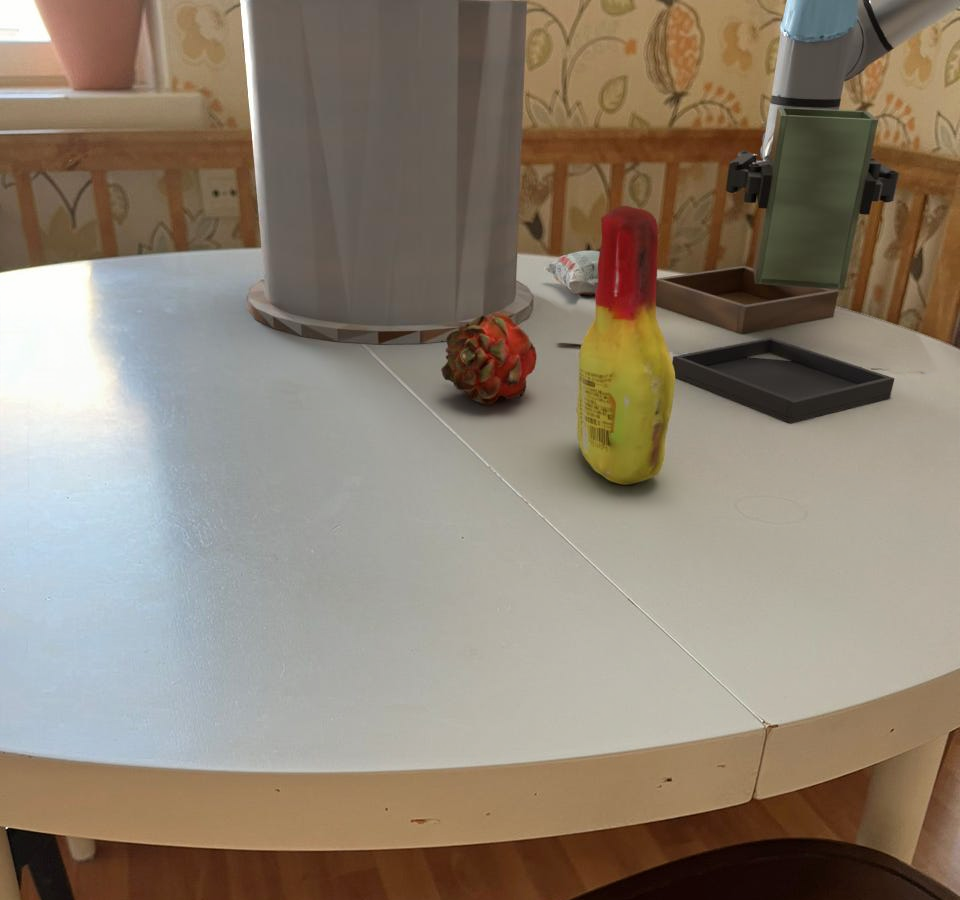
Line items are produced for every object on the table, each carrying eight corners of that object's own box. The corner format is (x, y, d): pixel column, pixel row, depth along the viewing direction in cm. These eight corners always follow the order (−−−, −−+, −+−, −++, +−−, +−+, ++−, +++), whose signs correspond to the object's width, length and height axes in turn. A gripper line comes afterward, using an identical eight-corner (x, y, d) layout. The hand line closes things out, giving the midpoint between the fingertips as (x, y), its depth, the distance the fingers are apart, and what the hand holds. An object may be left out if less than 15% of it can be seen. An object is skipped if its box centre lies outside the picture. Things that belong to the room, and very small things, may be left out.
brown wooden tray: (832, 321, 127) (838, 291, 125) (740, 339, 119) (745, 307, 117) (739, 293, 138) (743, 265, 136) (650, 308, 130) (653, 278, 128)
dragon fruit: (469, 436, 96) (488, 411, 107) (547, 386, 93) (559, 366, 104) (417, 355, 94) (441, 339, 104) (495, 301, 91) (512, 290, 102)
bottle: (555, 443, 90) (570, 195, 80) (625, 439, 92) (649, 193, 81) (599, 499, 80) (623, 224, 70) (677, 493, 82) (712, 222, 71)
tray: (890, 398, 103) (895, 378, 102) (790, 423, 96) (794, 402, 95) (767, 355, 114) (770, 337, 113) (670, 375, 107) (672, 356, 106)
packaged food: (567, 304, 131) (570, 263, 128) (543, 282, 141) (545, 244, 138) (633, 303, 133) (638, 263, 130) (604, 281, 142) (608, 243, 140)
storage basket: (311, 360, 109) (287, -4, 92) (210, 286, 135) (178, -9, 118) (588, 322, 124) (612, 3, 107) (450, 262, 150) (452, -2, 133)
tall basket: (836, 271, 102) (868, 111, 95) (843, 290, 95) (878, 119, 88) (753, 265, 103) (777, 107, 96) (754, 283, 97) (781, 115, 89)
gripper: (896, 205, 111) (930, 247, 92) (696, 193, 114) (690, 232, 95) (913, 126, 107) (953, 154, 88) (706, 116, 110) (701, 141, 91)
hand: (816, 194), depth 91 cm, fingers closed on tall basket, 8 cm apart
